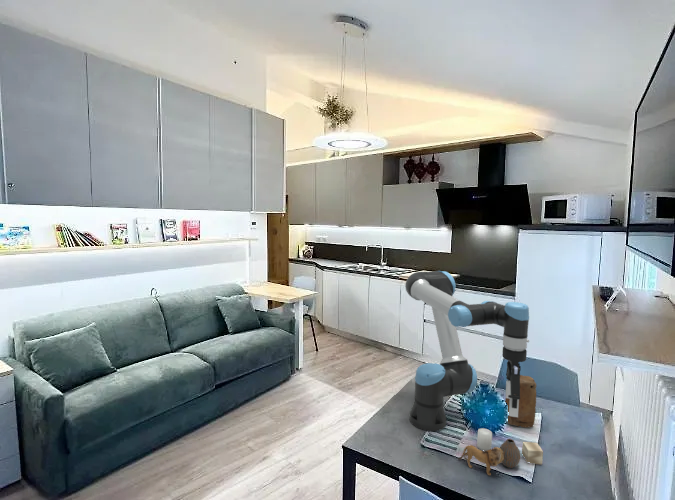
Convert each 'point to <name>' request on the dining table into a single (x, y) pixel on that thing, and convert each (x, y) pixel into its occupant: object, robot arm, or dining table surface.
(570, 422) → the dining table surface
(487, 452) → the lion figurine
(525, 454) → the birch block
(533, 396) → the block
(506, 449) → the vase
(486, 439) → the white cylinder
